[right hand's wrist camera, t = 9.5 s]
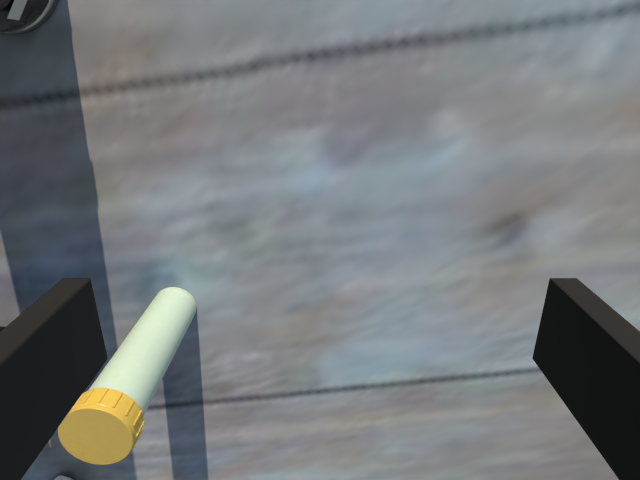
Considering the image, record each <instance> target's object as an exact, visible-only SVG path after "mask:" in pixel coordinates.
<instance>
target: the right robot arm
mask: <svg viewBox="0 0 640 480" xmlns="http://www.w3.org/2000/svg"><path fill="white" fill-rule="evenodd" d="M106 360H107V354H106V349H105V345H104V340H103V336H102V331H101V326H100V322H99V317H98V312H97V308H96V303H95V299H94V294H93V289H92V285H91V280H90V278H63V279H62V280H61V281H60V282H58V283H57V284H56V285H55V286H54V287H53V288H51V289H50V290H49V291H48V292H47V293H45V294H44V295H43V296H42V297H41V298H40V299H38V300H37V301H36V302H35V303H34V304H32V305H31V306H30V307H29V308H28V309H27V310H25V311H24V312H23V313H22V314H21V315H19V316H18V317H17V318H16V319H15V320H14V321H12V322H11V323H10V324H9V325H8V326H6V327H5V328H4V329H3V330H2V331H1V332H0V480H21V478H22V477H23V476H24V474H25V473H26V471H27V470H28V469H29V467H30V466H31V464H32V463H33V462H34V460H35V459H36V457H37V456H38V455H39V453H40V452H41V451H42V449H43V448H44V446H45V445H46V444H47V442H48V441H49V439H50V438H51V437H52V435H53V434H54V432H55V431H56V430H57V428H58V427H59V425H60V424H61V423H62V421H63V420H64V418H65V417H66V416H67V414H68V413H69V411H70V410H71V409H72V407H73V406H74V404H75V403H76V402H77V400H78V399H79V397H80V396H81V395H82V393H83V392H84V390H85V389H86V388H87V386H88V385H89V383H90V382H91V381H92V379H93V378H94V376H95V375H96V374H97V372H98V371H99V369H100V368H101V367H102V365H103V364H104V362H105V361H106ZM533 360H534V361H535V362H536V364H537V365H538V367H539V368H540V369H541V371H542V372H543V374H544V375H545V376H546V378H547V379H548V381H549V382H550V383H551V385H552V386H553V388H554V389H555V390H556V392H557V393H558V395H559V396H560V397H561V399H562V400H563V402H564V403H565V404H566V406H567V407H568V409H569V410H570V411H571V413H572V414H573V416H574V417H575V418H576V420H577V421H578V423H579V424H580V425H581V427H582V428H583V430H584V431H585V432H586V434H587V435H588V437H589V438H590V439H591V441H592V442H593V444H594V445H595V446H596V448H597V449H598V451H599V452H600V453H601V455H602V456H603V457H604V459H605V460H606V462H607V463H608V464H609V466H610V467H611V469H612V470H613V471H614V473H615V474H616V476H617V477H618V478H619V480H640V332H639V331H638V330H637V329H636V328H635V327H634V326H632V325H631V324H630V323H629V322H628V321H626V320H625V319H624V318H623V317H622V316H621V315H619V314H618V313H617V312H616V311H615V310H613V309H612V308H611V307H610V306H609V305H608V304H606V303H605V302H604V301H603V300H602V299H600V298H599V297H598V296H597V295H596V294H595V293H593V292H592V291H591V290H590V289H589V288H587V287H586V286H585V285H584V284H583V283H582V282H580V281H579V280H578V279H577V278H550V280H549V285H548V289H547V294H546V299H545V303H544V308H543V312H542V317H541V322H540V326H539V331H538V336H537V340H536V345H535V349H534V354H533Z"/></svg>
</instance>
